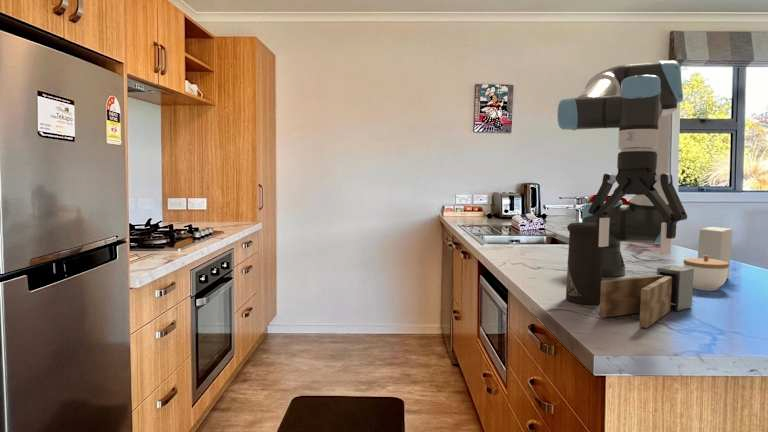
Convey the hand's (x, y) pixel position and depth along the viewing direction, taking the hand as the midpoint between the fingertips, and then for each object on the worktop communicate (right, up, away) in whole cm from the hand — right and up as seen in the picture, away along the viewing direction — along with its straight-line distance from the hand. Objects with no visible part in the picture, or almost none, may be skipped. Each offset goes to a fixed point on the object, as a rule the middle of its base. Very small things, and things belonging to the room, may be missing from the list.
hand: (632, 250), depth 109 cm
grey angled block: (+16, -14, +13) cm, 25 cm away
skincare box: (+48, -12, +46) cm, 67 cm away
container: (-3, -14, +19) cm, 24 cm away
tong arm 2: (+6, -15, +3) cm, 17 cm away
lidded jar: (+37, -13, +33) cm, 51 cm away
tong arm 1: (+3, -15, +7) cm, 17 cm away
